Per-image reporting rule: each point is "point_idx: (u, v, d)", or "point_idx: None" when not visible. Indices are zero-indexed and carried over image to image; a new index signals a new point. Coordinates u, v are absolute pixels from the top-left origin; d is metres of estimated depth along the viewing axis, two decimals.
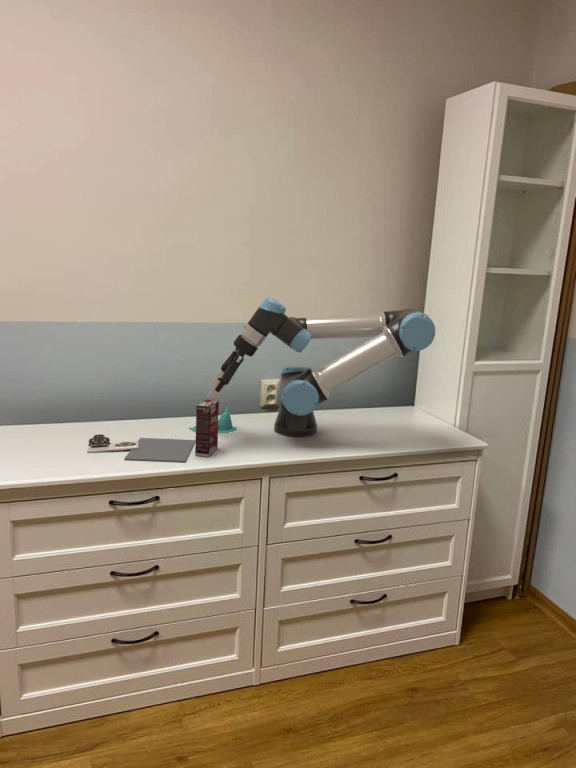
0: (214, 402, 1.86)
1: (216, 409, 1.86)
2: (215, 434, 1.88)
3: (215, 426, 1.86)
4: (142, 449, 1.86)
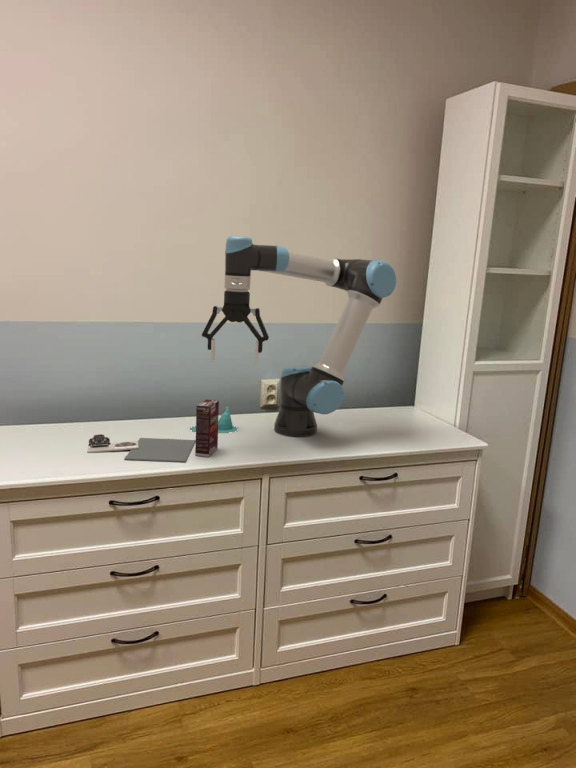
0: (214, 402, 1.86)
1: (216, 409, 1.86)
2: (215, 434, 1.88)
3: (215, 426, 1.86)
4: (142, 449, 1.86)
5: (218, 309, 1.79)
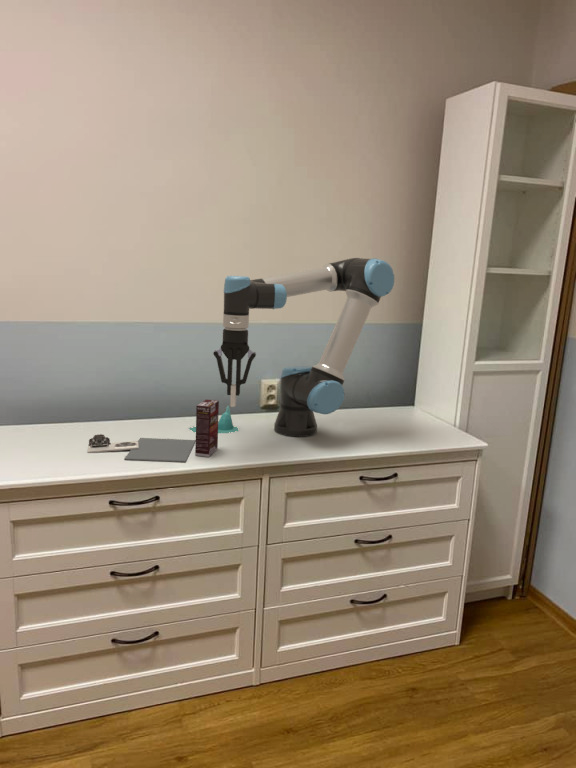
0: (214, 402, 1.86)
1: (216, 409, 1.86)
2: (215, 434, 1.88)
3: (215, 426, 1.86)
4: (142, 449, 1.86)
5: (218, 352, 1.81)
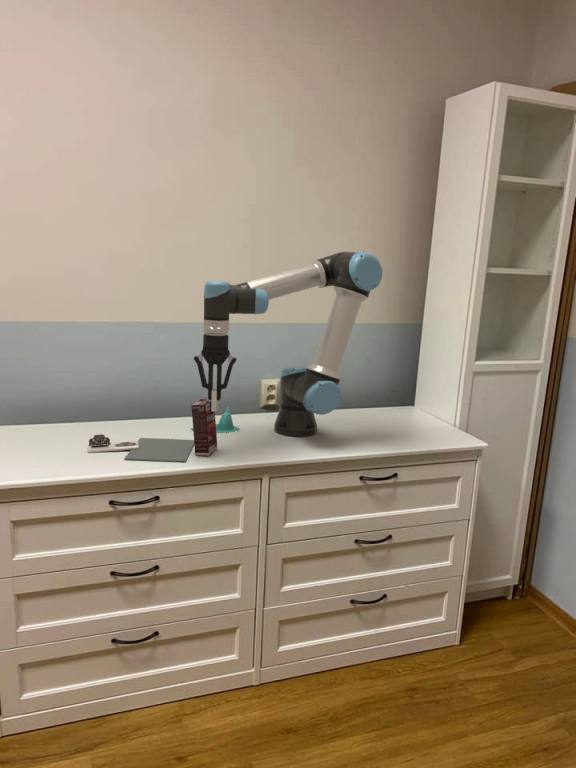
0: (209, 400, 1.86)
1: None
2: (214, 433, 1.88)
3: (212, 424, 1.86)
4: (142, 449, 1.86)
5: (199, 357, 1.81)
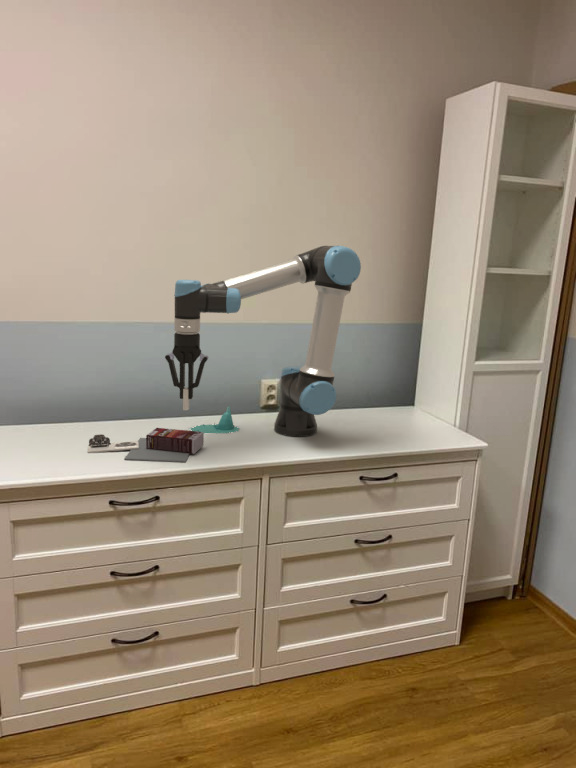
0: None
1: (159, 430, 1.91)
2: (184, 432, 1.90)
3: (174, 432, 1.89)
4: (142, 449, 1.86)
5: (170, 355, 1.81)
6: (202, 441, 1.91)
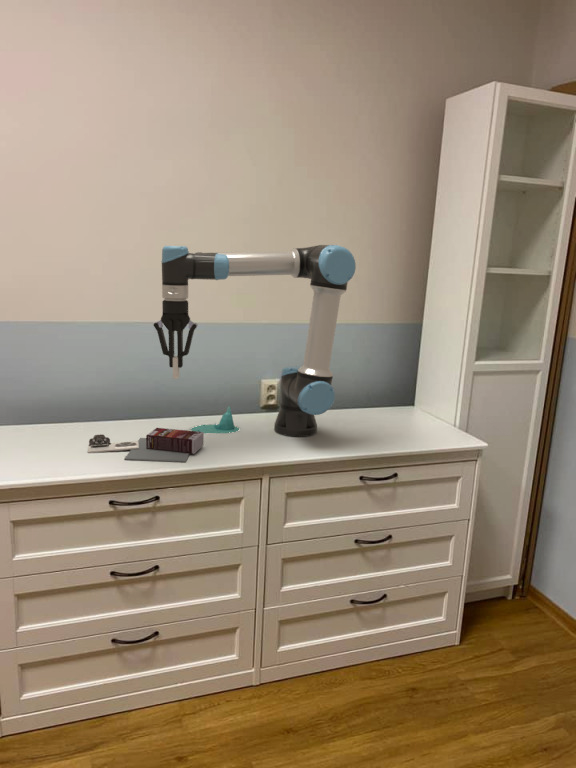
0: None
1: (159, 430, 1.91)
2: (184, 432, 1.90)
3: (174, 432, 1.89)
4: (142, 449, 1.86)
5: (159, 323, 1.79)
6: (202, 441, 1.91)
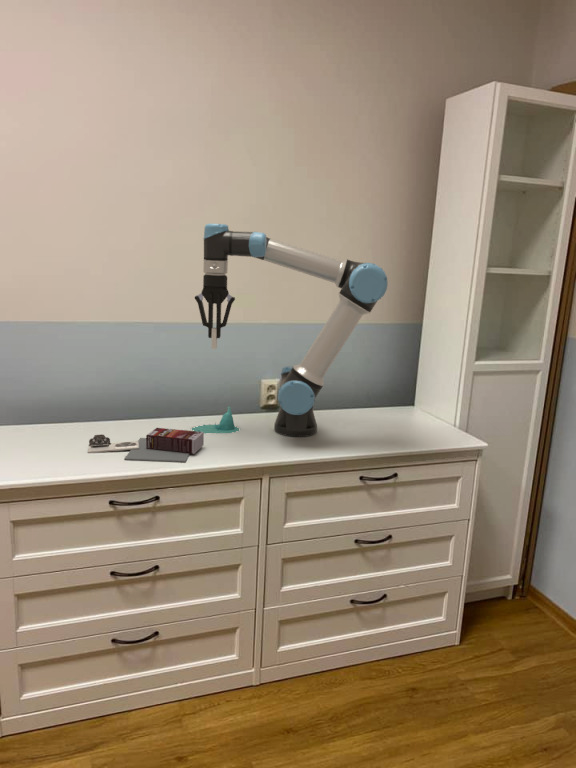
0: None
1: (159, 430, 1.91)
2: (184, 432, 1.90)
3: (174, 432, 1.89)
4: (142, 449, 1.86)
5: (199, 296, 1.92)
6: (202, 441, 1.91)
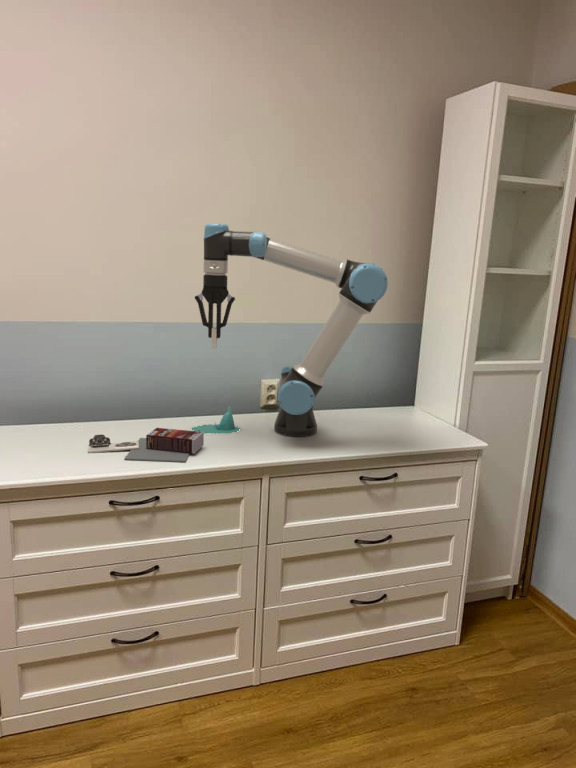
0: None
1: (159, 430, 1.91)
2: (184, 432, 1.90)
3: (174, 432, 1.89)
4: (142, 449, 1.86)
5: (200, 296, 1.92)
6: (202, 441, 1.91)
